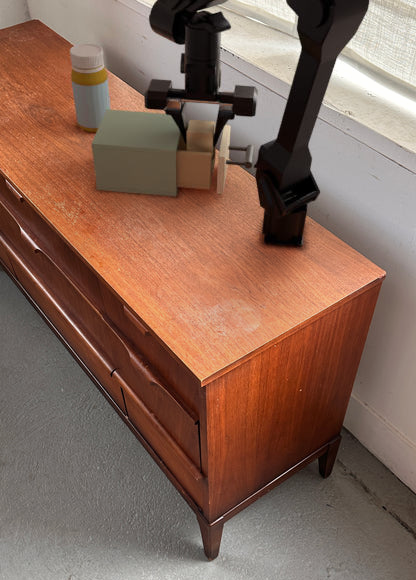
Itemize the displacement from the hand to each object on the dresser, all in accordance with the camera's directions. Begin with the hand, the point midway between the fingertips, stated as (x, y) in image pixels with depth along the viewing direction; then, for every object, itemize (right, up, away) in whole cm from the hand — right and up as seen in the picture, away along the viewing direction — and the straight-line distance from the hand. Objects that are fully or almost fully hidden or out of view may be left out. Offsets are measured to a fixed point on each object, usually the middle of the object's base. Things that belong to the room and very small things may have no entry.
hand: (200, 144), depth 112 cm
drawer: (0, -4, +5) cm, 6 cm away
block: (0, -1, +1) cm, 1 cm away
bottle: (-22, +10, +18) cm, 30 cm away
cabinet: (-11, -4, +6) cm, 13 cm away
